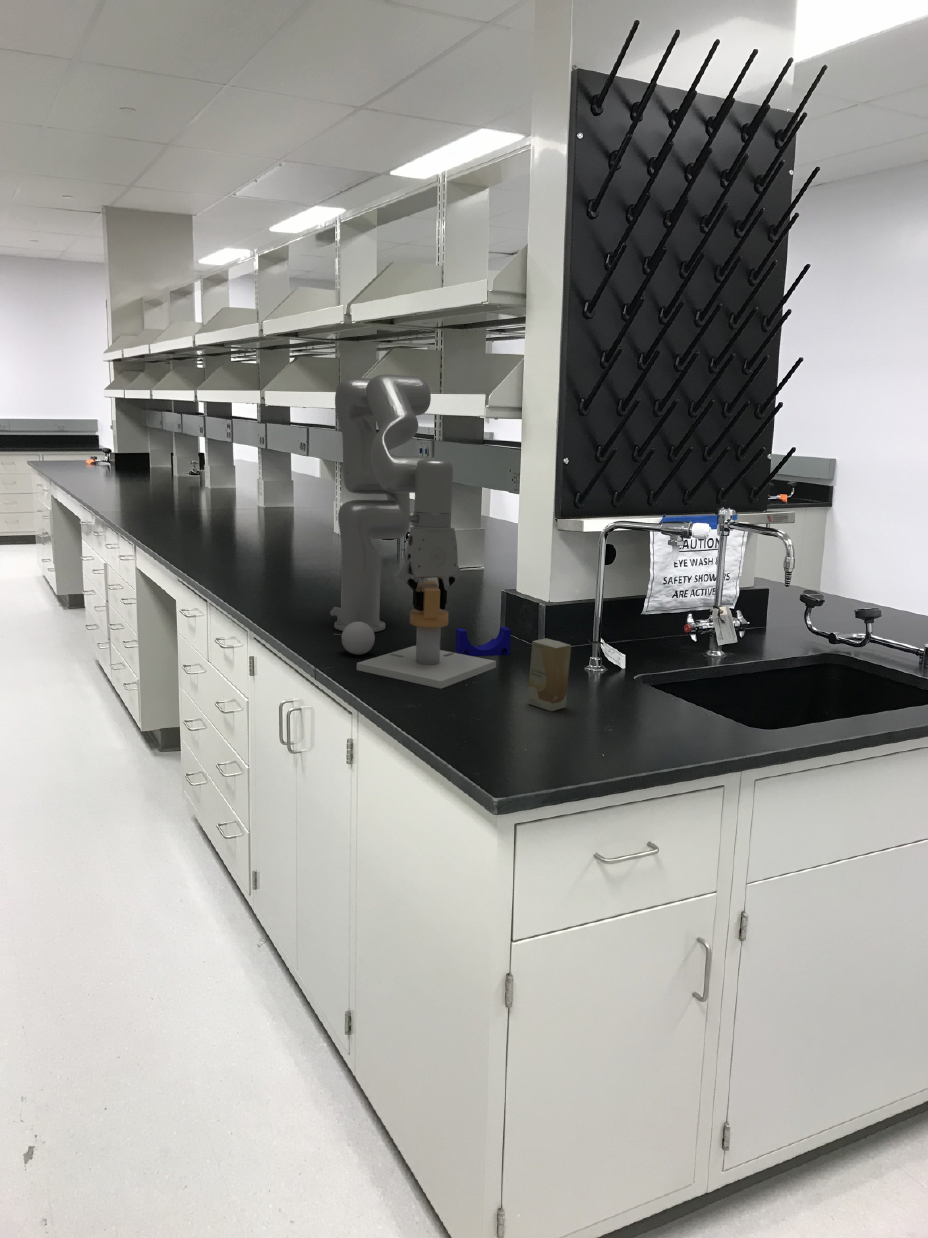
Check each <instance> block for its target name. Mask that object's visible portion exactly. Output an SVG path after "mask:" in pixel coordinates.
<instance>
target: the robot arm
mask: <svg viewBox="0 0 928 1238" xmlns="http://www.w3.org/2000/svg"><path fill="white" fill-rule="evenodd" d="M431 401H432V396H431V389H430V386H429V385H428V383H427V382H426V380H424V379H423V378H422V377H420V376H414V375H400V374H380V375H376V376H374V377H372V378H370V377H369V378H367V377H365V378H364V377H353V378H347V379H344V380H342V381H341V382H339V383H338V385H337V387H336V389H335V395H334V407H335V413H336V417H337V420H338V421H337V422H338V424H339V428H340V431H341V436H342V469H343V470H342V473H343V474H342V475H343V483H344V486H345V489H346V490H347V491H348V492H350V493H353V494H358V495H385V496H386V498H387V499H354V500H349V501H346V502H345V503H343V504H342V505H341V506H340V508H339V510H338V512H337V520H338V528H339V535H340V546H341V547H340V548H341V574H340V575H341V576H340V577H341V578H340V579H341V582H340V607H338V606H333V608H332V609H331V610H330V611H329V614H330V616H333V617H336V618H337V620H335V621H334V625H333V626H334V628H335V630H338V631H342V632H343V631H344V629H345V627H346V626H348V625H349V624H351V623H353V622H364V623H366V624H368V625H369V626H370V627H371V628H372V630H373V632H374V633H376V632H381V631H383V630H385V629H386V622H384V621H382V620H381V619H380V611H381V610H380V605H381V604H380V601H381V600H380V599H381V563H382V562H381V557H380V553H379V551H378V550H377V548H376V546H374V544H373V542H372V540H393V539H394V540H396V539H401V538H404V537H405V536H406V535H407V534H409V535H408V540H407V546H406V552H405V553H406V554H405V555H406V556H405V564H404V565H403V567H402V568H401V570H400V571H399V573H398V574H397V576H398V578H399V579H401V580H402V581H403V582H405V583H406V584H407V585H408V586H409V587H410V589H411V591H412V606H413V609H416V610H418V611H423V600H424V592H422V587H423V582H424V580H425V579H428V578H429V579H431V578H436V579H437V586H438V588H439V589H440V609H441V610H445V611H446V605H447V603H448V601H447V600H448V598H447V597H448V591H449V590H450V588H451V586H452V585H453V584H454V583H455V581H456V580H458V579H459V578H460V577H461V576H463V572H462V570H461V568H460V567H459V564H458V563H459V561H458V557H459V556H458V545H457V544H458V543H457V542H458V541H457V535H456V531H455V528H454V527H451V526H452V507H453V506H452V503H453V477H454V476H453V475H454V474H453V473H454V470H453V469H454V466H453V464H452V462H450V461H449V460H446V459H439V458H437V457H433V456H417V455H415V456H413V455H410V456H409V455H395V454H391V452H390V450H393V449H395V448H398V447H400V446H402V445H405V444H406V443H408V442H409V441H411V440H412V439H413V438H414V437H415V436H416V435H417V433H418V430H419V421H418V418H417V416H421V415H424V414H425V413H426V412H427V411H428V410H429V408H430V405H431ZM366 416H370V417H373V418H374V420H375V423H376V425H377V427H378V429H379V430H378V431H377V430H376V428H375V427H374V425H373V424H372V423H371V421H370V420H369V419H368V418H367V417H366ZM410 494H414V510H413V512H412V513H413V514H412V515H411V502H410V501H411V499H410V496H411V495H410ZM410 523H412V525H413V526H411V528H410ZM409 529H410V531H409ZM408 532H409V533H408ZM410 575H411V576H412V578H411V577H410Z"/></svg>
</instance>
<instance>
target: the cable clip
mask: <svg viewBox="0 0 928 1238" xmlns="http://www.w3.org/2000/svg"><path fill="white" fill-rule="evenodd" d="M467 632H468V630H466V629H464V628H463V627H461V628H457V627H456V628H455V648H454V653H458V654H463V655H468V656H473V657H490V656H491V657H492V656H493V657H494V656H510V654H511V638H512V637H511V633H512V630H511V629H510V628H508V627H507V626H500V627H499V631H498V634H497V636H496V638H492V639H490V641H488V642H486V643H484V644H480V645H477V646H476V645H472V644H471V642H470V641H469V638H468V633H467Z"/></svg>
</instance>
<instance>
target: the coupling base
mask: <svg viewBox="0 0 928 1238" xmlns="http://www.w3.org/2000/svg"><path fill="white" fill-rule="evenodd" d="M441 629H442V627H434V628H429V627H418V626H416V639H415V640H416V645H412V646H409V647H405V648H402V649H399V650H395V651H392V652H390V653H386V654H383V655H382V654H381V655H379V656H376V657H372V658H369V659H365V660H363V661H359V662H356V671H359V672H364V673H368V674H371V675H372V674H374V675H376V676H377V675H378V676H382V677H386V678H391V679H396V680H401V681H404V682H410V683H413V684H417V685H418V684H419V685H422V686H426V687H427V686H428V687H431V688H436V689H443V688H447V687H449V686H452V685H455V684H456V683H460V682H462V681H466V680H467V679H471V678H472V677H474V676H475V677H476V676H478V675H480V674H483V673H486V672H488V671H492V670H494V669H497V660H493V659H489V658H488V659H487V658H482V657H479V656H468V655H463V654H458V653H455V652H452V651H448V650H443V649H441V634H442V633H441V631H442V630H441Z"/></svg>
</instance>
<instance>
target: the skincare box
mask: <svg viewBox="0 0 928 1238" xmlns="http://www.w3.org/2000/svg"><path fill="white" fill-rule="evenodd" d="M571 652H572V645H571V644H568V643H566V642H562V641H559V640H554V639H550V638H547V637H546V638H542V639H540V638H539V639H537V640H532V642H531V653H530V654H531V655H530V664H529V665H530V666H529V675H528V676H529V679H528V690H527V691H528V692H527V704H528V705H531V706H535V707H538V708H540V709H542V710H546V711H549V712H554V711H557V710H561V709H565V708H566V706H567V698H568V697H567V695H568V685H569V675H570V666H571V665H570V662H571Z"/></svg>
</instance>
